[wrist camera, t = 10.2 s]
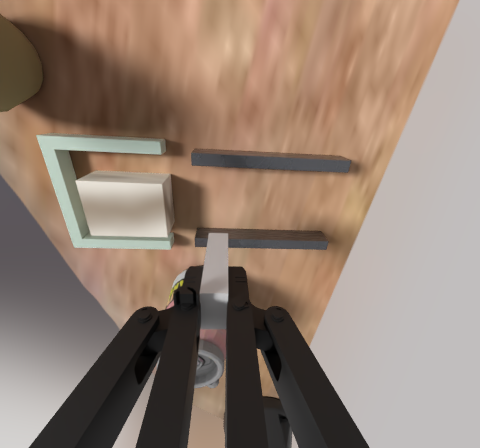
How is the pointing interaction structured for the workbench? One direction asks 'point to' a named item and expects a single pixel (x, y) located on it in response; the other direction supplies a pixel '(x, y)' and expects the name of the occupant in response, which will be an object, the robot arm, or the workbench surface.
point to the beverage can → (206, 348)
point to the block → (127, 203)
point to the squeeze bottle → (17, 67)
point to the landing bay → (67, 191)
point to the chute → (267, 161)
